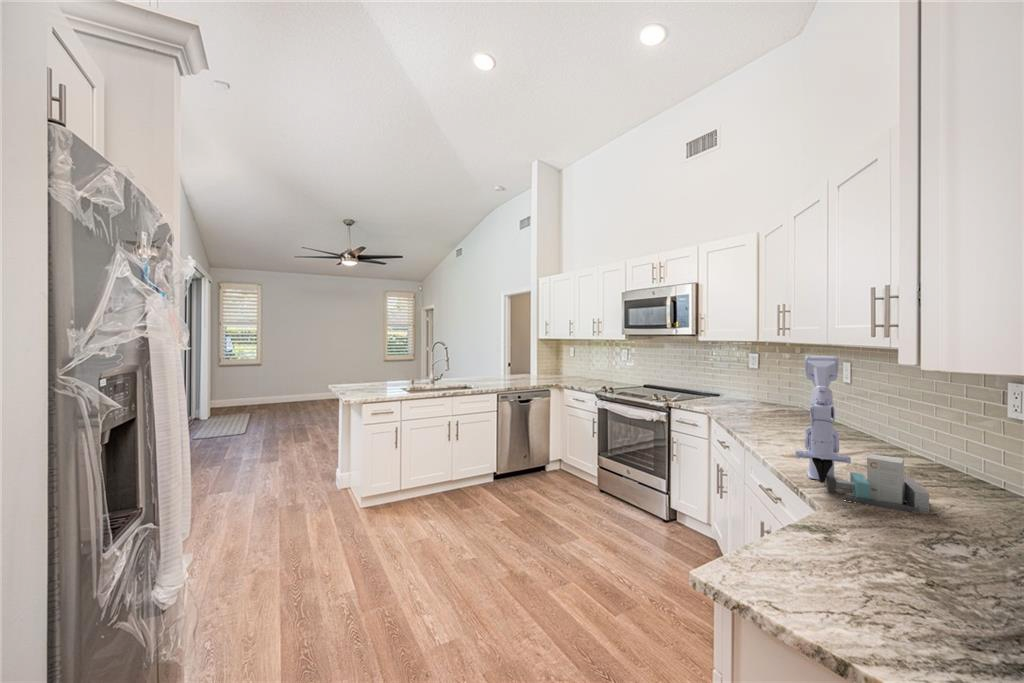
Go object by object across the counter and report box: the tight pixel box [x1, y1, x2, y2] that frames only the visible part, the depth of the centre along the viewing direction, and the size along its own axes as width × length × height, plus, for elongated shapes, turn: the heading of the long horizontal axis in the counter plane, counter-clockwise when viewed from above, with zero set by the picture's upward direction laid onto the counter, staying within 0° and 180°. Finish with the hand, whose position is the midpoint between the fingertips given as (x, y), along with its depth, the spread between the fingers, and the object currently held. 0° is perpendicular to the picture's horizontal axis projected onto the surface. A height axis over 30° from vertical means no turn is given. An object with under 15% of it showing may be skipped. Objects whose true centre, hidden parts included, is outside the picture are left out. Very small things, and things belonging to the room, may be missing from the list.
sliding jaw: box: [824, 472, 870, 499], centre depth 131 cm, size 11×10×6 cm
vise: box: [842, 476, 930, 515], centre depth 127 cm, size 15×19×6 cm
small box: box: [866, 453, 905, 504], centre depth 127 cm, size 8×6×13 cm
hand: (821, 481), depth 135 cm, fingers closed
